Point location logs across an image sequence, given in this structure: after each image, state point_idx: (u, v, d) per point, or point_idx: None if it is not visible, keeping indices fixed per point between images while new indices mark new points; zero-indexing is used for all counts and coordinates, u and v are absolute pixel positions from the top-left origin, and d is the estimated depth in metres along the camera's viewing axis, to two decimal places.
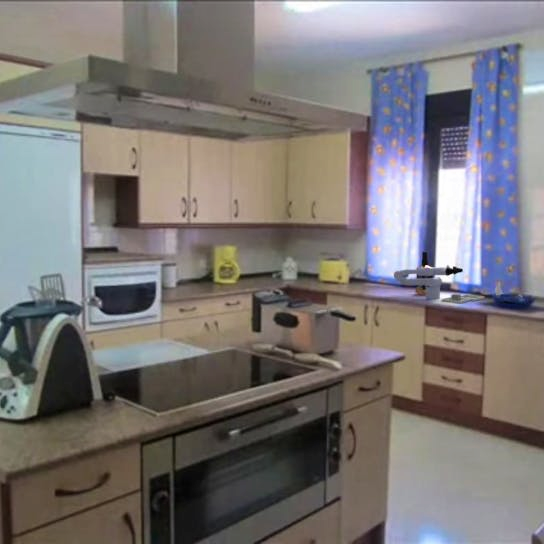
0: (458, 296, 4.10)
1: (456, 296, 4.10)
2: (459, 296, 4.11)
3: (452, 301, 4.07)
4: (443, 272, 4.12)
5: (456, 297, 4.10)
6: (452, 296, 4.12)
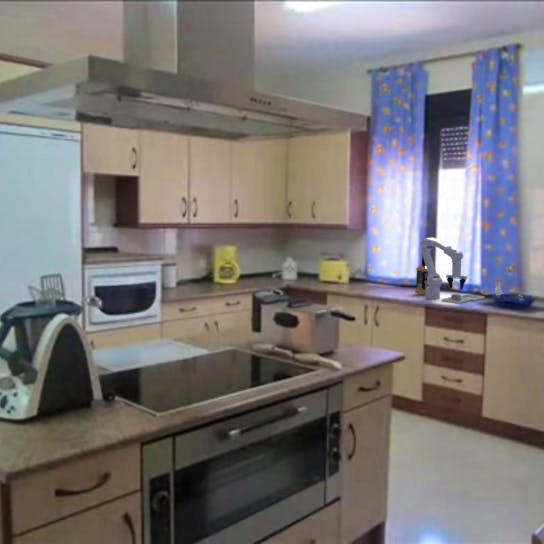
0: (458, 296, 4.10)
1: (456, 296, 4.10)
2: (459, 296, 4.11)
3: (452, 301, 4.07)
4: None
5: (456, 297, 4.10)
6: (452, 296, 4.12)
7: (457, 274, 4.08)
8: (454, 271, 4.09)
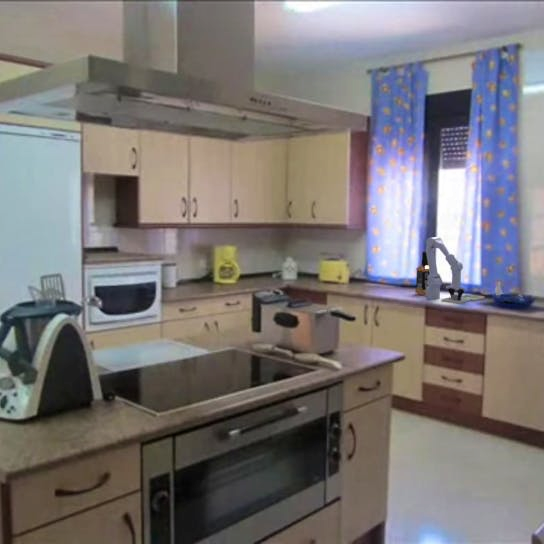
0: None
1: (456, 296, 4.10)
2: None
3: (452, 301, 4.07)
4: None
5: (456, 297, 4.10)
6: (452, 296, 4.12)
7: (457, 285, 4.09)
8: (454, 282, 4.09)
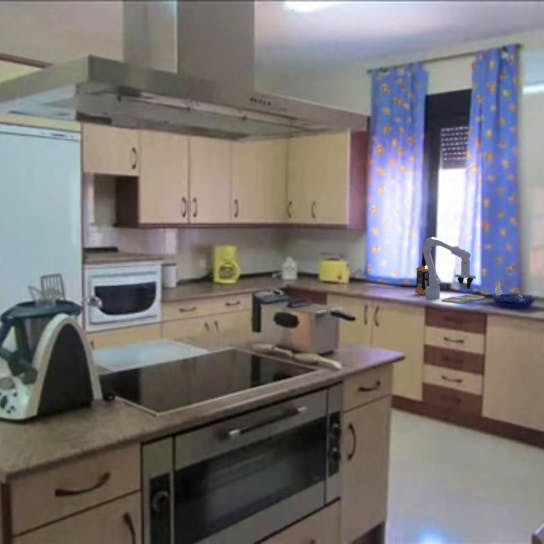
0: None
1: (465, 285, 4.14)
2: None
3: (452, 301, 4.07)
4: None
5: (465, 286, 4.14)
6: (461, 285, 4.16)
7: (466, 274, 4.13)
8: (463, 271, 4.13)
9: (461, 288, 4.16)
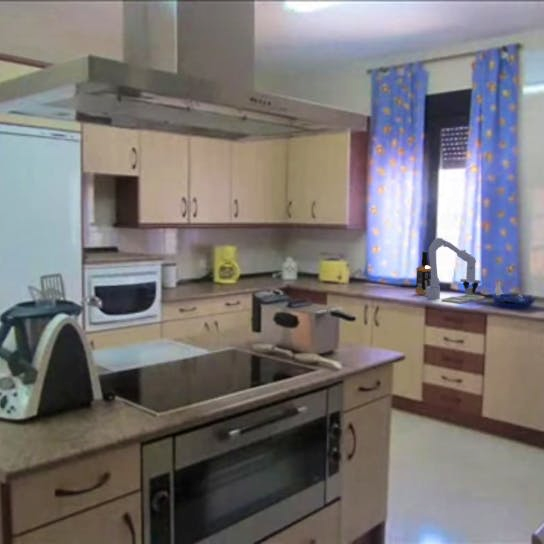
0: (472, 289, 4.18)
1: (470, 289, 4.17)
2: None
3: (452, 301, 4.07)
4: None
5: (470, 290, 4.17)
6: (466, 289, 4.19)
7: (471, 278, 4.16)
8: (468, 275, 4.17)
9: (466, 293, 4.19)
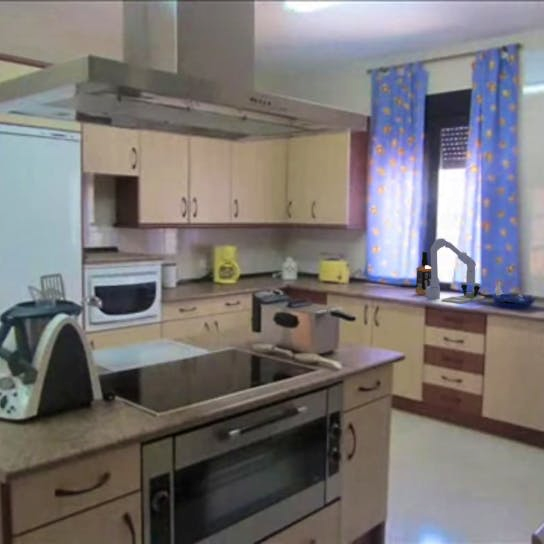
0: (472, 294, 4.18)
1: (470, 294, 4.18)
2: (473, 294, 4.19)
3: (452, 301, 4.07)
4: None
5: (470, 295, 4.18)
6: (466, 294, 4.20)
7: (471, 281, 4.17)
8: (468, 279, 4.17)
9: (466, 297, 4.20)
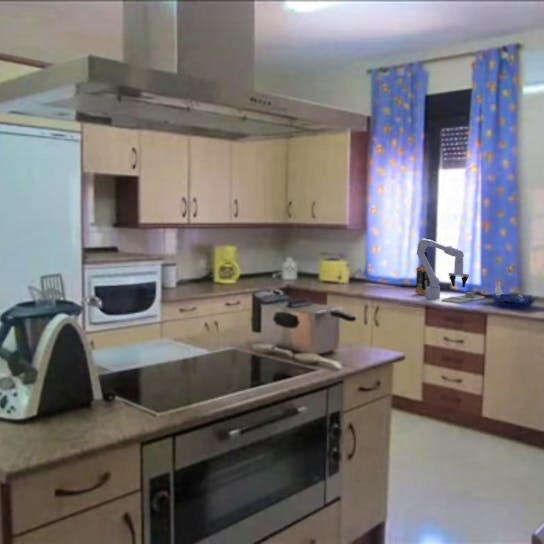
0: (472, 294, 4.18)
1: (470, 294, 4.18)
2: (473, 294, 4.19)
3: (452, 301, 4.07)
4: None
5: (470, 295, 4.18)
6: (466, 294, 4.20)
7: (459, 272, 4.18)
8: (456, 269, 4.19)
9: (466, 297, 4.20)
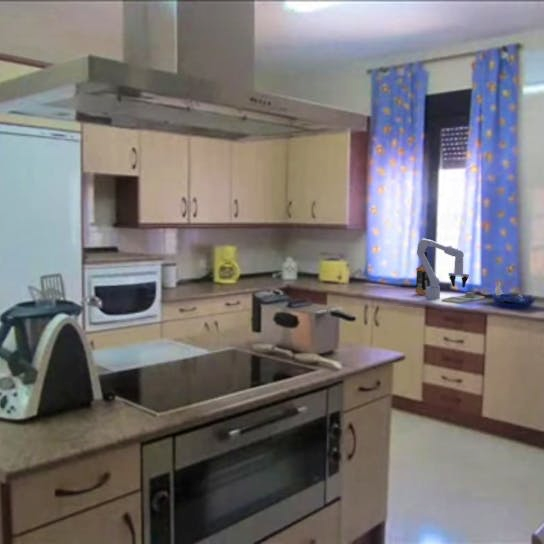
0: (472, 294, 4.18)
1: (470, 294, 4.18)
2: (473, 294, 4.19)
3: (452, 301, 4.07)
4: None
5: (470, 295, 4.18)
6: (466, 294, 4.20)
7: (459, 272, 4.18)
8: (456, 269, 4.19)
9: (466, 297, 4.20)
